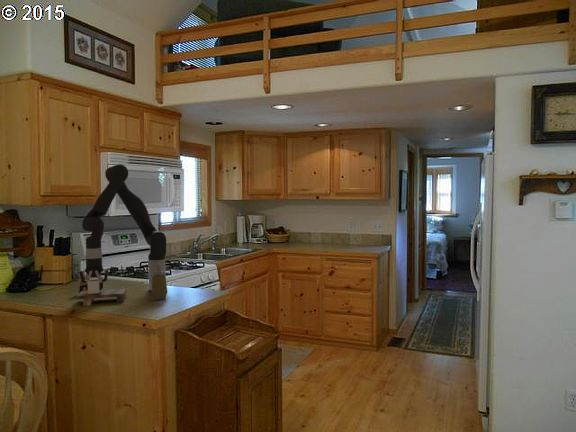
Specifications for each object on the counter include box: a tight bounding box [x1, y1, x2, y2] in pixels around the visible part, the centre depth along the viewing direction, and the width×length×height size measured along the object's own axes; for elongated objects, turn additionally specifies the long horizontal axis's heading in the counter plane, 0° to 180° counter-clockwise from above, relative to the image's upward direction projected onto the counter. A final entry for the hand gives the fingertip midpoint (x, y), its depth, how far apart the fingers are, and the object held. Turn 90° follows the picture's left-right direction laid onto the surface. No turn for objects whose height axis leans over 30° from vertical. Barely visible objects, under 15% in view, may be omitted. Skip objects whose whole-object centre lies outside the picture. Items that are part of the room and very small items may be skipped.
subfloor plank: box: [75, 288, 127, 307], centre depth 221 cm, size 22×16×5 cm
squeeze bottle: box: [150, 264, 168, 301], centre depth 224 cm, size 8×8×18 cm
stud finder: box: [88, 277, 101, 294], centre depth 220 cm, size 5×9×6 cm, turn 15°
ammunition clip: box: [78, 272, 98, 294], centre depth 239 cm, size 11×2×12 cm, turn 129°
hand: (94, 290), depth 220 cm, fingers closed on stud finder, 5 cm apart
